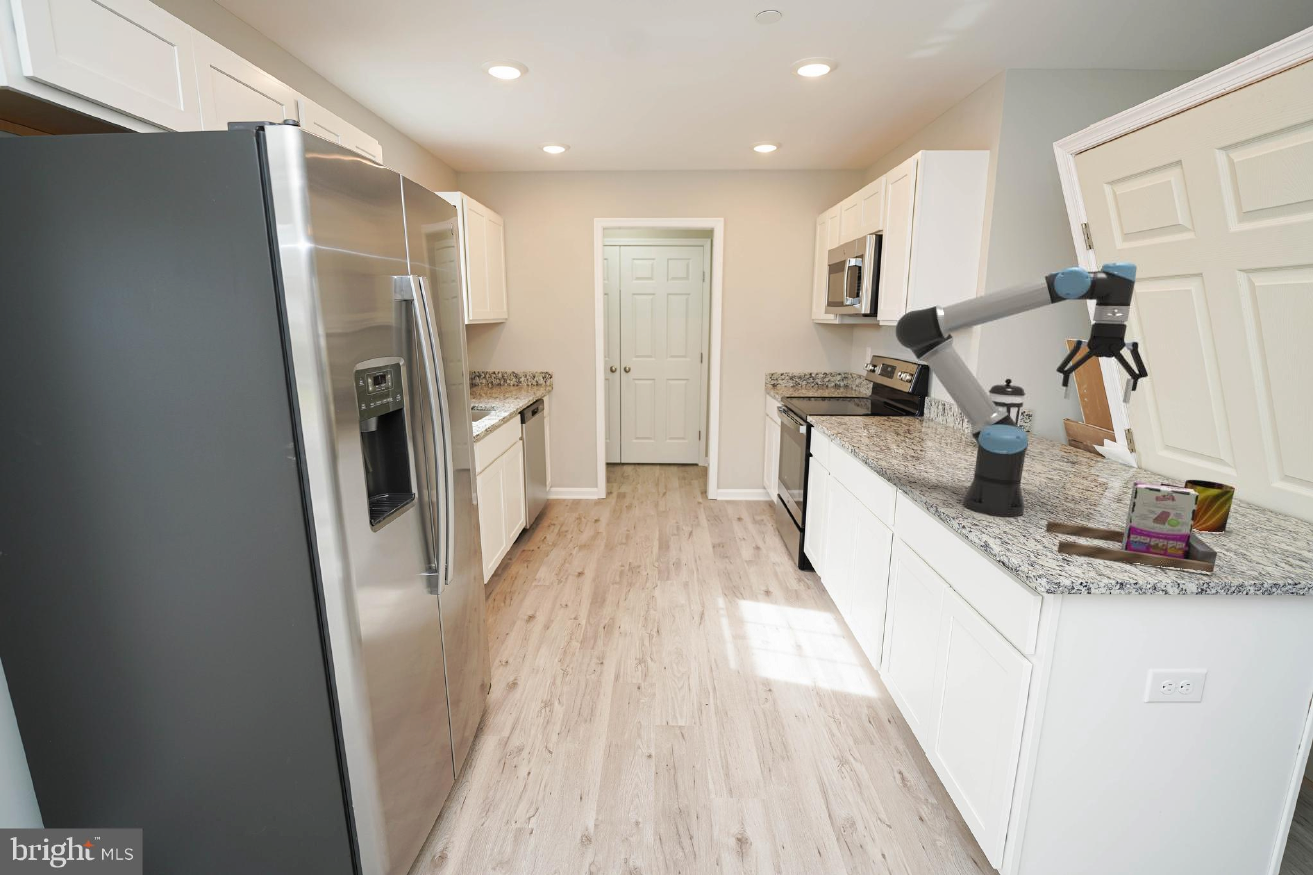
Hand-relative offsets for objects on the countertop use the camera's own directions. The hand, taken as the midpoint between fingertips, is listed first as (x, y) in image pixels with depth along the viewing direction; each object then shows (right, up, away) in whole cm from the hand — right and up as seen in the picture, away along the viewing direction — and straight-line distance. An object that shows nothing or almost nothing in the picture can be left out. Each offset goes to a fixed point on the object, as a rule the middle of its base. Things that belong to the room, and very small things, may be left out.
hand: (1095, 401), depth 164 cm
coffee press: (+20, -16, +80) cm, 84 cm away
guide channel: (-11, -37, -23) cm, 45 cm away
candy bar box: (-6, -38, -26) cm, 46 cm away
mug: (+22, -34, -5) cm, 41 cm away
